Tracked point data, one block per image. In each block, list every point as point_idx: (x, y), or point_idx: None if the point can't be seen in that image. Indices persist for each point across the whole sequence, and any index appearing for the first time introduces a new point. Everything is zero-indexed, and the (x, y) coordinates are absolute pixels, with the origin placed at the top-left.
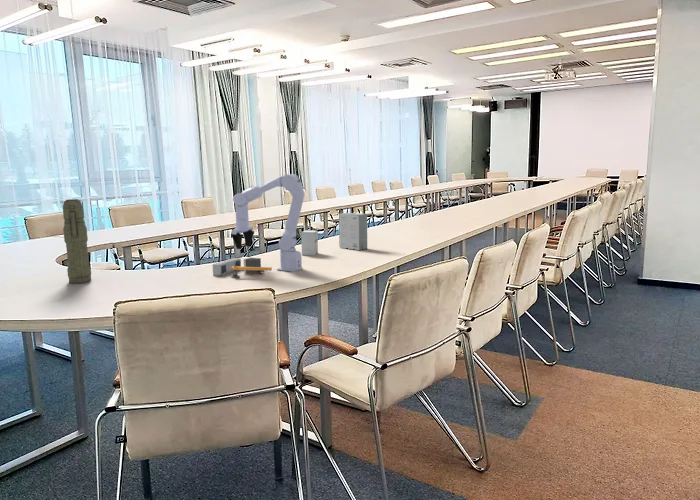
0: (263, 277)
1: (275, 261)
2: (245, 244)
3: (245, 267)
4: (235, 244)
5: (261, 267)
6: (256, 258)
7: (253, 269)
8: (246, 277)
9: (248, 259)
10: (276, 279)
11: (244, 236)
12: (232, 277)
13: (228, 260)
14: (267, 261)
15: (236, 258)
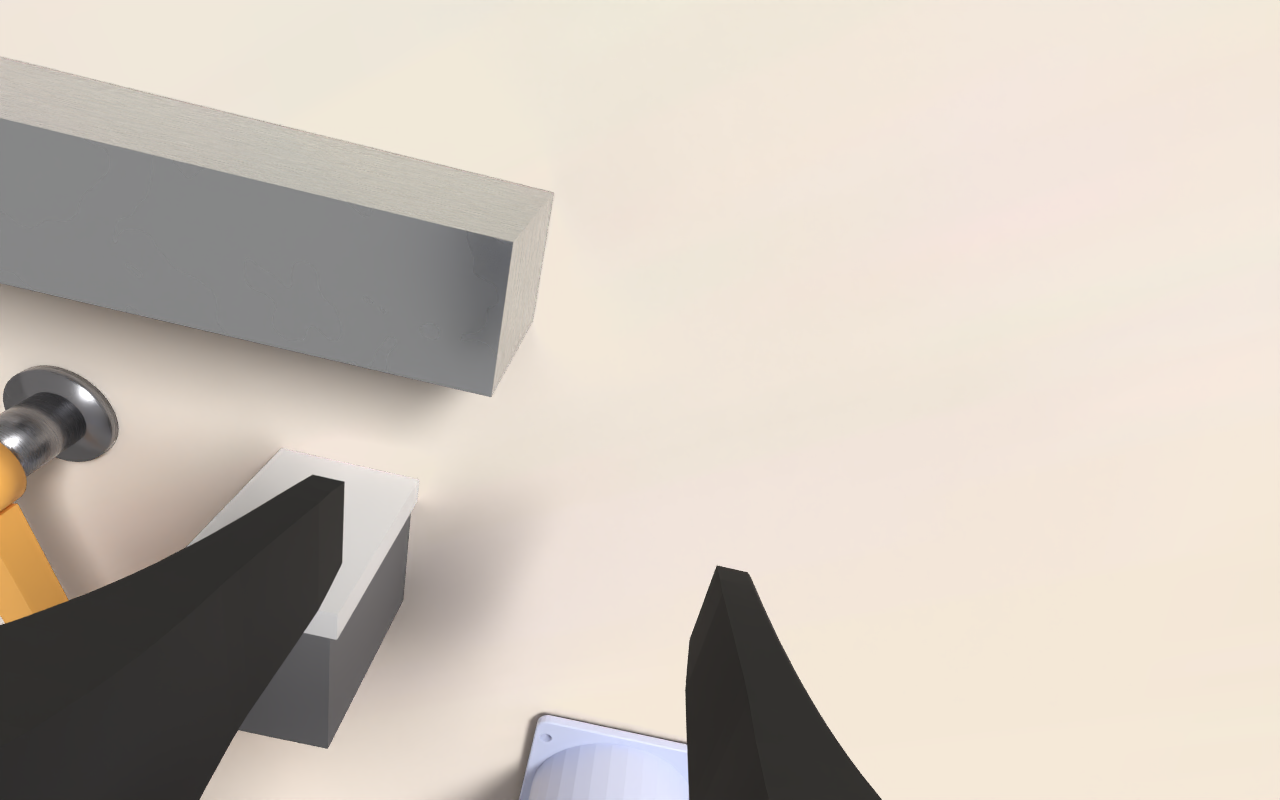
0: None
1: (1082, 609)
2: (719, 588)
3: (3, 613)
4: (224, 528)
5: None
6: (304, 708)
7: None
8: (117, 528)
9: None
10: None
11: (753, 779)
12: (10, 395)
13: (237, 241)
14: (1101, 519)
15: (466, 324)
